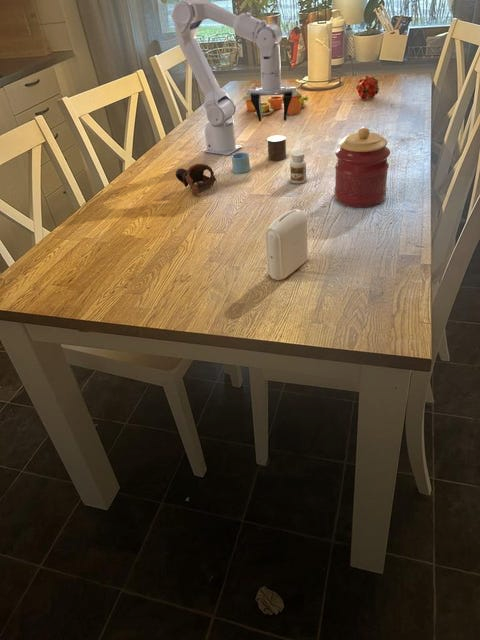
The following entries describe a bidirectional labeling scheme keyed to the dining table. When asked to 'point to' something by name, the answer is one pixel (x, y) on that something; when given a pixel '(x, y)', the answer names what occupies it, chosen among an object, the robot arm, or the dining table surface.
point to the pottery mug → (196, 178)
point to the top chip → (276, 141)
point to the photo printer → (287, 244)
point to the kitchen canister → (361, 169)
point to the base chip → (277, 156)
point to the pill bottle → (298, 168)
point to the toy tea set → (278, 104)
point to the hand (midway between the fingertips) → (272, 120)
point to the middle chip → (277, 150)
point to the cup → (240, 162)
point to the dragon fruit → (367, 87)
